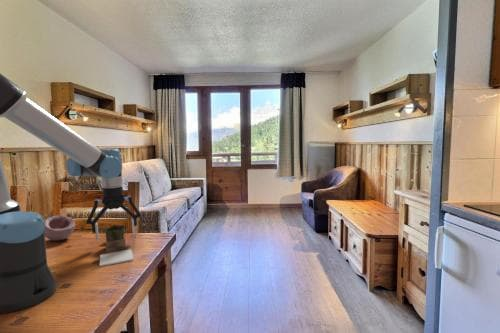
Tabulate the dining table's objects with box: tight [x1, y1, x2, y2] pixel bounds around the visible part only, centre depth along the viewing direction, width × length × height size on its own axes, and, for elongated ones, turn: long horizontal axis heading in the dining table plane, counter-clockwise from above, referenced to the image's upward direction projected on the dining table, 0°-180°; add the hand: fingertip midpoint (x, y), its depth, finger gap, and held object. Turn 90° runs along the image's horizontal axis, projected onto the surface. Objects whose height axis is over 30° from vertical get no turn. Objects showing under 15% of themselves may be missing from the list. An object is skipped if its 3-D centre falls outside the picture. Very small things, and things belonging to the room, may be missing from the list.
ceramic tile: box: [99, 249, 135, 267], centre depth 101 cm, size 10×11×1 cm
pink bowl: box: [43, 214, 76, 242], centre depth 121 cm, size 12×12×11 cm
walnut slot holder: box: [105, 236, 127, 254], centre depth 114 cm, size 7×14×4 cm, turn 28°
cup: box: [104, 224, 125, 241], centre depth 113 cm, size 8×7×8 cm
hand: (116, 236), depth 114 cm, fingers open, 13 cm apart
